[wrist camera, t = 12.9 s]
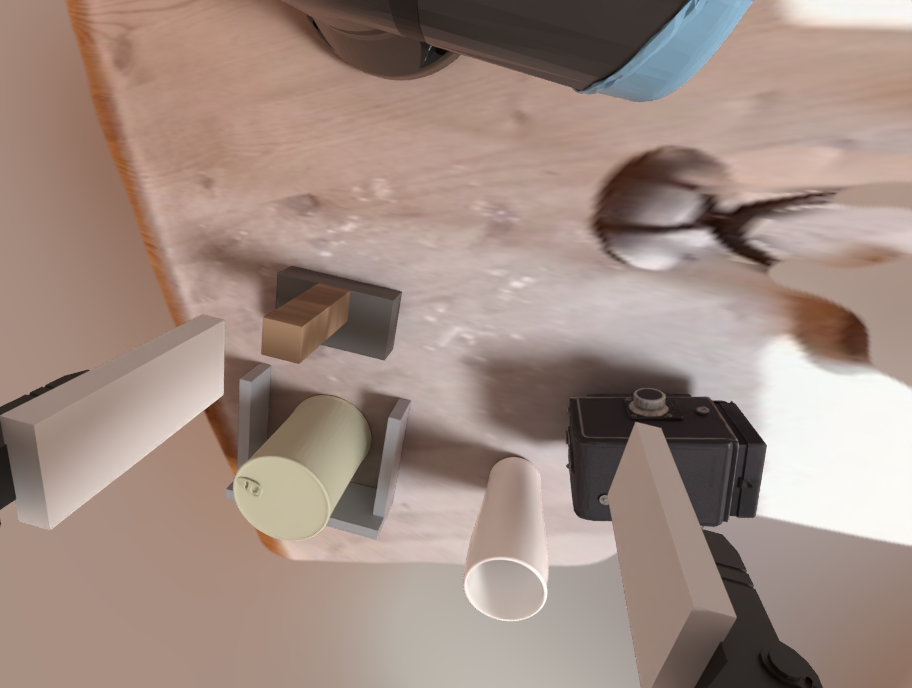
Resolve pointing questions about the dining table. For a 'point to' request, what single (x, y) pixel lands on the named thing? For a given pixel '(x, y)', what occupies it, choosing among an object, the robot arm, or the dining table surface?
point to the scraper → (329, 316)
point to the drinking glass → (509, 545)
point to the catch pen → (358, 503)
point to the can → (303, 469)
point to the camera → (690, 442)
